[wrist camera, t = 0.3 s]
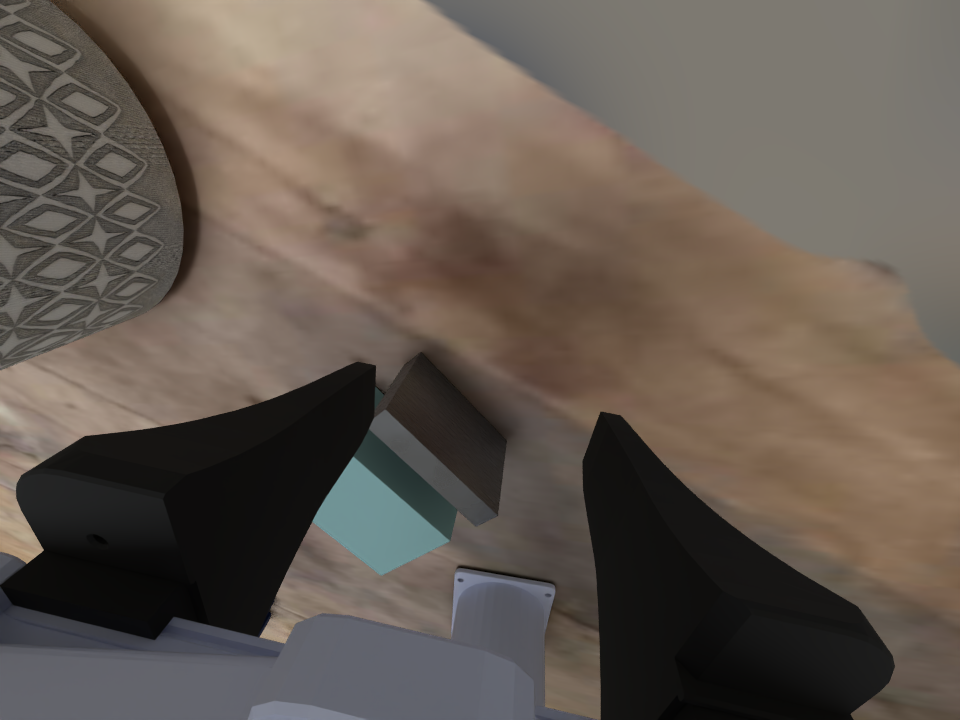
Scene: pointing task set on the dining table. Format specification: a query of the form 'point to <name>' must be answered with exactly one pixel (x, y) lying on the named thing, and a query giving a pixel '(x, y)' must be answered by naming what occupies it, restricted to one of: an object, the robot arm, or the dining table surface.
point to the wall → (443, 439)
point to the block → (385, 508)
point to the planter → (75, 189)
